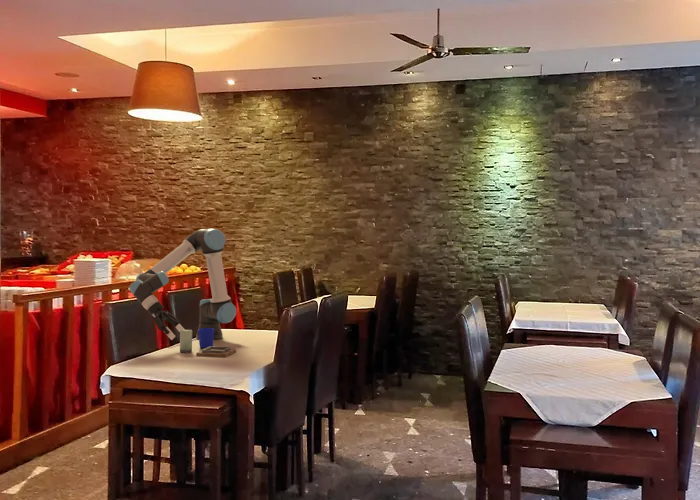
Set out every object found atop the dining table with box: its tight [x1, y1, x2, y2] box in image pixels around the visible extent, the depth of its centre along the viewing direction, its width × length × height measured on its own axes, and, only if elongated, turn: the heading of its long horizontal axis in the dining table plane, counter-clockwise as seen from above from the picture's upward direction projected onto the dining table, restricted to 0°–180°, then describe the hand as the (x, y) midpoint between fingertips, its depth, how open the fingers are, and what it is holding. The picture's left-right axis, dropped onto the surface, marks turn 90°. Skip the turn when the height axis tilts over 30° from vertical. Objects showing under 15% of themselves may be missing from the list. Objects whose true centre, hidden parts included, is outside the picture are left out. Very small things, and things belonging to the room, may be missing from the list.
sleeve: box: [179, 329, 193, 354], centre depth 312 cm, size 6×6×11 cm
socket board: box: [195, 345, 237, 358], centre depth 307 cm, size 15×15×3 cm
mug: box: [198, 328, 214, 349], centre depth 327 cm, size 8×12×10 cm
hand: (179, 336), depth 311 cm, fingers open, 13 cm apart
